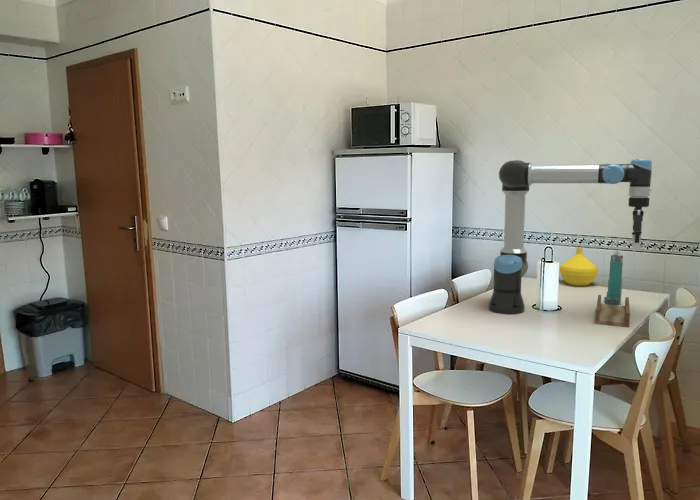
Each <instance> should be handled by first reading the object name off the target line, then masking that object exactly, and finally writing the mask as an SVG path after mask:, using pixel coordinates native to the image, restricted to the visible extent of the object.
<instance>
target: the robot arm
mask: <svg viewBox="0 0 700 500" xmlns="http://www.w3.org/2000/svg"><path fill="white" fill-rule="evenodd" d="M652 164H653V161H652V160H651V159H650V158H633V159H631V161H630V163H603V164H594V163H593V164H533V163H532V162H525V161H523V160H519V159H518V160H517V159H515V160H509V161H507V162H505V163H503V164H502V165H501V167H500V168H499V171H498V179H499V180H500V183H502V185H501V190H502V191H501V192H503V194H504V195H505V202H504V203H505V204H504V207H505V208H504V233H503V234H504V236H503V247H502V249H500V255H498V256H496V257H495V259H494V262H493V288H492V291H493V292H492V295H491V297H490V299H489V303H488V310H490V311H492V312H494V313H498V314H506V315H507V314H509V315H510V314H513V315H515V314H521V313H523V312H525V311H526V310H525V308H526V307H525V302H524V299H523V296H522V278H523V277H524V276H525V275H526V274H527V271H528V268H529V263H528V260H527V259H528V251H527V250H526V249H525V247H524V243H525V241H524V240H525V215H526V214H525V213H526V195H527V194H528V193H529V192H530V187H531V186H532V185H533V184H607V185H608V184H610V185H615V184H616V185H617V184H619V183H629V186H628V187H629V188H628V189H629V190H628V196H629V198H628V207H631V208H633V210H632V222H633V224H632V232H631V235H632V237H631V247H632V251H635V252H640V251H641V241H642V223H643V220H644V213H645V211H644V210H643V209H642V208H647V207H649V206H650V198H649V196H650V194H651V193H650V192H652V191H653V188H651V182H652V171H653V170H652V169H653V167H652V166H653V165H652Z"/></svg>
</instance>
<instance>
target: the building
mask: <svg viewBox="0 0 700 500" xmlns="http://www.w3.org/2000/svg"><path fill="white" fill-rule="evenodd" d="M618 248H619V244H617V247H616V251H615V252H614V253H613V254H610V261H609V273H608V274H609V275H608V276H609V278H608V280H607V282H608V283H607V291H606V296H604V297H603V298H604V299H603V304H604V303H605V304H608V305H620V306H622V293H623V291H622V289H623V278H622V277H623V265H624V264H623V261H624V260H623V258H624V256H623V255H622V254H621V253H620V252H619V249H618Z"/></svg>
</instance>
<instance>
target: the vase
mask: <svg viewBox="0 0 700 500" xmlns="http://www.w3.org/2000/svg"><path fill="white" fill-rule="evenodd" d="M583 250H584V249H583V248H582V247H576V251H575V252H576V253H575V254H574V256H572V257H570V258H569V259H567V260H566V261H565V262H563V263H561V264H560V266H559V272H560V276H561V278H562V280H563V281H564V282H565V283H566V284H568V285H569V286H574V287H585V286H588V285H590V284H592V282H593V281H594V280H595V279H596V277H597V275H598V271H599V270H598V267H597V266H596V264H595V263H593V262H592V261H590V260H589V259H588V258H587V257H585V256H584V254H583Z"/></svg>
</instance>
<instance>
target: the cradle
mask: <svg viewBox="0 0 700 500" xmlns="http://www.w3.org/2000/svg"><path fill="white" fill-rule="evenodd" d="M630 310H631V309H630V299H629V296H625V302H624V305H621V306H619V305H608V304H604V303H602V295H601V294H598V295H597V301H596V309H595V319H594V321H595V323H594V324H597V325H603V324H604V325H603V326H615V327H624V328H625V327H626V328H630V317H631V311H630Z"/></svg>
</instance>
